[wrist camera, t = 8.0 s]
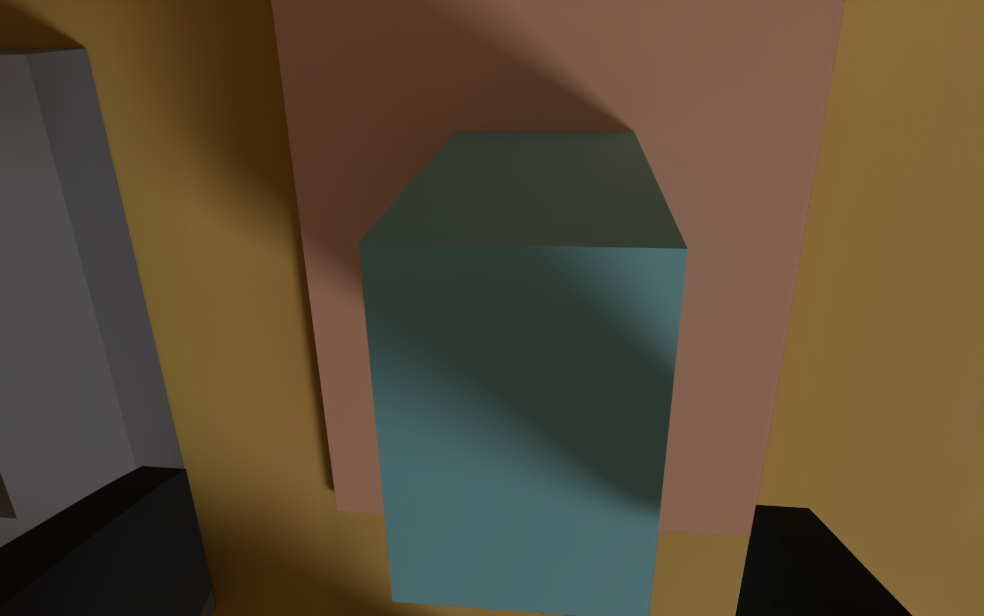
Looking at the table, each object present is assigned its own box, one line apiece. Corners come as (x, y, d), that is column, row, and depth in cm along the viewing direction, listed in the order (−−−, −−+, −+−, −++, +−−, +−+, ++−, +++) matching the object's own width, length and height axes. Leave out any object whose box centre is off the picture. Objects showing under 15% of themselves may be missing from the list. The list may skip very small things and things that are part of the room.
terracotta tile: (746, 522, 20) (751, 537, 20) (343, 497, 21) (337, 511, 21) (855, -121, 14) (867, -126, 13) (268, -103, 15) (257, -107, 14)
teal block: (618, 368, 18) (648, 620, 11) (464, 362, 18) (392, 601, 11) (634, 131, 16) (687, 248, 8) (456, 130, 16) (358, 241, 9)
